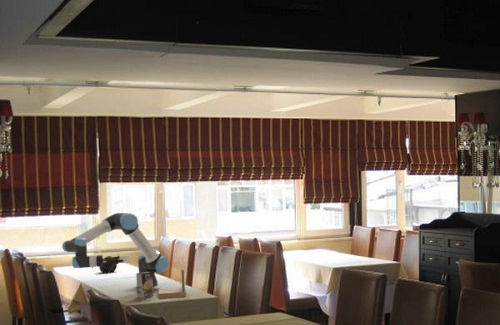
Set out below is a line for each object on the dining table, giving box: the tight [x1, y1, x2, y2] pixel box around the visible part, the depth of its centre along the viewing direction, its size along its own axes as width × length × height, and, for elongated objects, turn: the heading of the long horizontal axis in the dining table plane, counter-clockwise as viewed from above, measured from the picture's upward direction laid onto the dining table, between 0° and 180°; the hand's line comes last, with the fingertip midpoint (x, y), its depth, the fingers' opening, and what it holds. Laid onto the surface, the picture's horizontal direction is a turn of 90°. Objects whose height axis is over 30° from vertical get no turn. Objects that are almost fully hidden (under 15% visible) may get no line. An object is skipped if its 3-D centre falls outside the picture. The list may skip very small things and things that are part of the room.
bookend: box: [180, 266, 186, 291], centre depth 484 cm, size 16×2×14 cm, turn 7°
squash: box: [98, 255, 118, 274], centre depth 620 cm, size 14×15×15 cm
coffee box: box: [135, 272, 154, 299], centre depth 481 cm, size 9×6×16 cm
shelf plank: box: [158, 286, 187, 299], centre depth 483 cm, size 22×18×3 cm
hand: (128, 259), depth 480 cm, fingers open, 13 cm apart
